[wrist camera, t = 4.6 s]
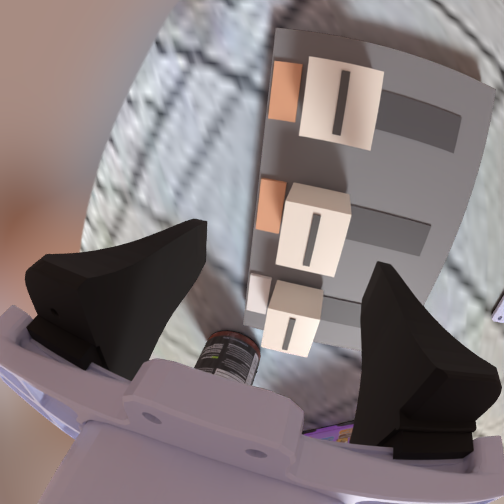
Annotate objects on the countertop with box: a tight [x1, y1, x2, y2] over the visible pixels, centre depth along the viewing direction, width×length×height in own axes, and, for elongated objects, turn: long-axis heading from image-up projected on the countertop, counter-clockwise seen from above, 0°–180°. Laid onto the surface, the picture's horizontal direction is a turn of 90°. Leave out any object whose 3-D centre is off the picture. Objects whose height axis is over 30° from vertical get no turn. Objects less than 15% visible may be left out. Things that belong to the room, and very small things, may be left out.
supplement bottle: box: [194, 331, 261, 386], centre depth 26 cm, size 6×6×11 cm
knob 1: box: [276, 183, 352, 277], centre depth 18 cm, size 4×4×3 cm
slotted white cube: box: [299, 56, 384, 151], centre depth 13 cm, size 4×4×3 cm
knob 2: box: [261, 280, 324, 357], centre depth 22 cm, size 4×4×3 cm
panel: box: [243, 28, 496, 351], centre depth 19 cm, size 14×23×2 cm, turn 175°
